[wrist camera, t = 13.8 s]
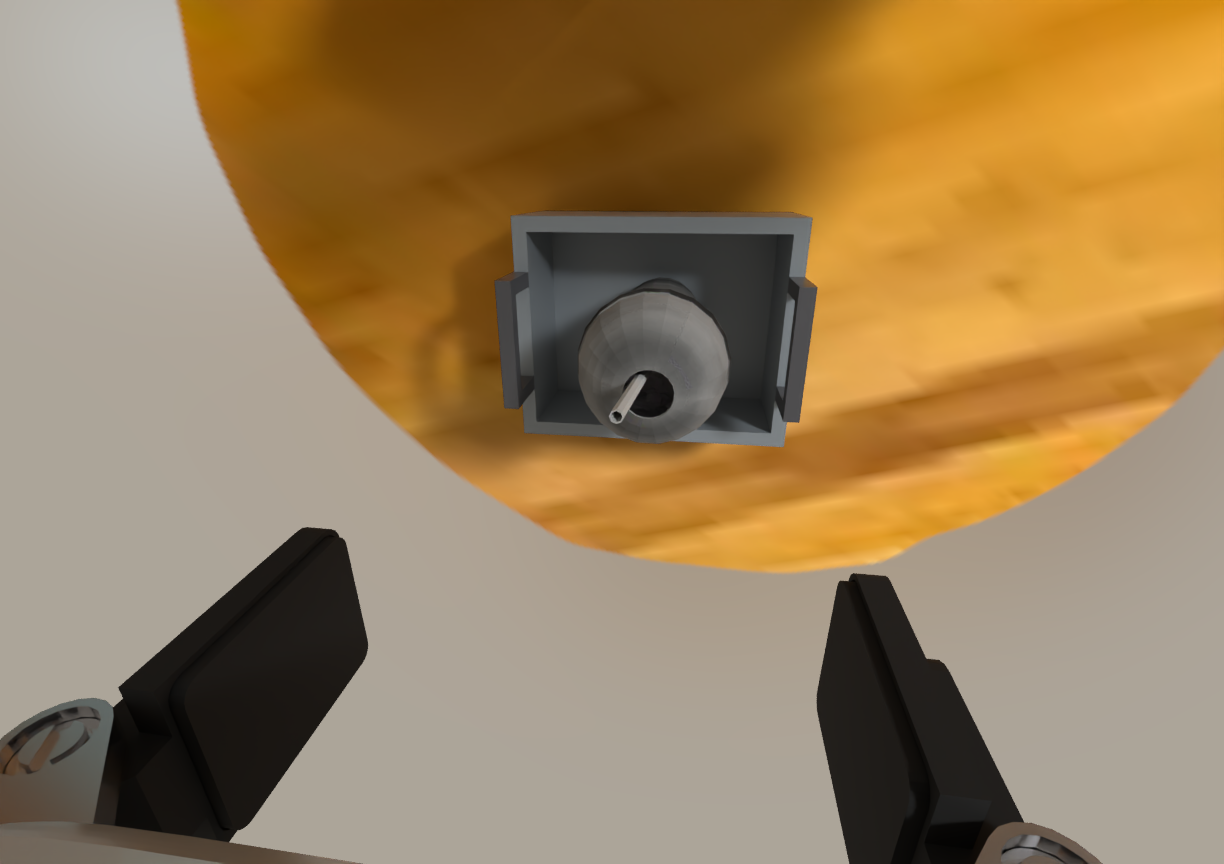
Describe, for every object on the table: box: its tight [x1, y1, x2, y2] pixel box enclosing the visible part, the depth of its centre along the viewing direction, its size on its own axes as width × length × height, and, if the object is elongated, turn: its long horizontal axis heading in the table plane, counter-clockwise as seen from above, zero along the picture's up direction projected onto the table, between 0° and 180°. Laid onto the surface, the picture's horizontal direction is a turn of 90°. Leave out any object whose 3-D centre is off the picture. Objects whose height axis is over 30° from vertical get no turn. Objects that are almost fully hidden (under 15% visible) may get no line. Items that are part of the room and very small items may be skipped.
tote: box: [495, 211, 817, 447], centre depth 34 cm, size 16×13×10 cm
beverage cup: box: [578, 277, 731, 444], centre depth 29 cm, size 7×7×20 cm
